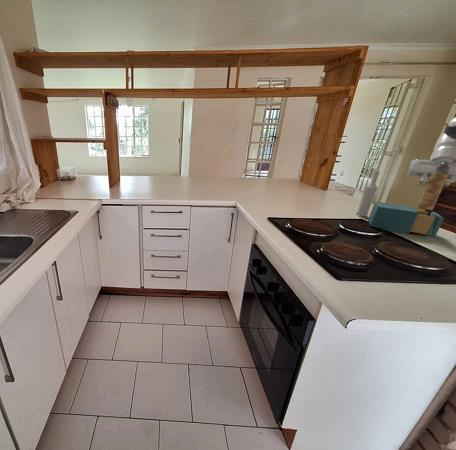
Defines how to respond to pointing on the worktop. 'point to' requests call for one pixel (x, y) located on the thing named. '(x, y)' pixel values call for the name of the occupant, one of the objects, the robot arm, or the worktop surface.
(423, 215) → the drawer
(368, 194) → the bottle
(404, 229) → the cabinet
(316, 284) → the worktop surface
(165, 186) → the worktop surface
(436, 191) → the pepper mill
